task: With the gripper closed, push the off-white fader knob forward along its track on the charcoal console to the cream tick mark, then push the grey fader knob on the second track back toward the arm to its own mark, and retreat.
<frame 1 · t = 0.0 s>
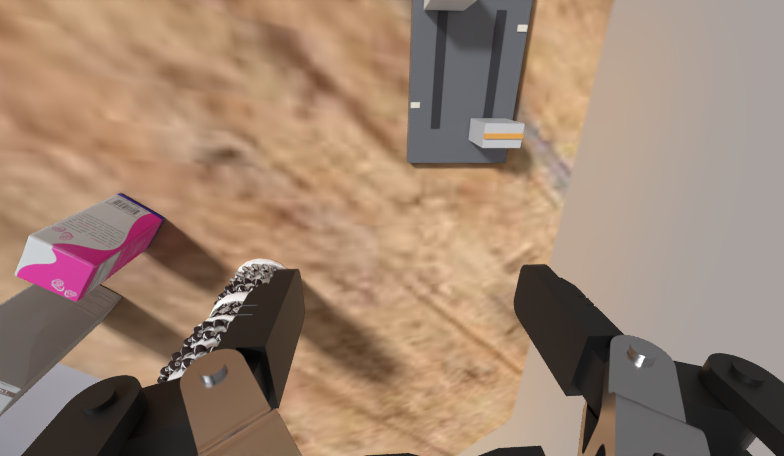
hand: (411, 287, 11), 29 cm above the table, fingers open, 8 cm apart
grey fader: (494, 132, 34), point 4 cm above the table, slide at 0.0 cm
decorative candle: (266, 282, 45), on the table
skincare box: (88, 292, 44), on the table
console: (464, 50, 34), on the table
supplement box: (136, 221, 40), on the table
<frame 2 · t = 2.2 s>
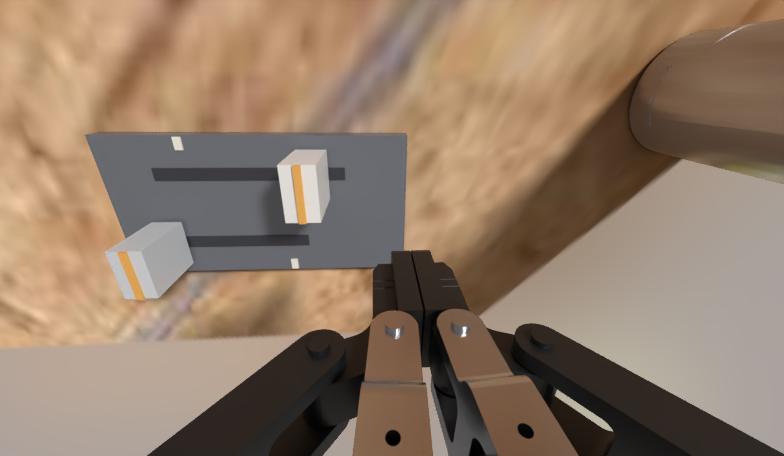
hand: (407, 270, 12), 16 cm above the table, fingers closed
grey fader: (154, 258, 24), point 4 cm above the table, slide at 0.0 cm
white fader: (307, 184, 23), point 4 cm above the table, slide at 0.0 cm
console: (268, 202, 28), on the table
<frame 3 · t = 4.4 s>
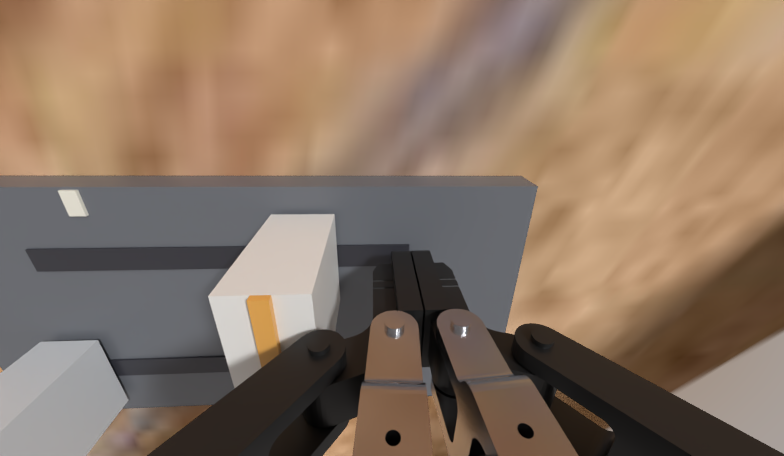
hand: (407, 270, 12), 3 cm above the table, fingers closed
grey fader: (32, 428, 12), point 4 cm above the table, slide at 0.0 cm
white fader: (293, 299, 10), point 4 cm above the table, slide at 1.7 cm, touching gripper
console: (263, 293, 15), on the table
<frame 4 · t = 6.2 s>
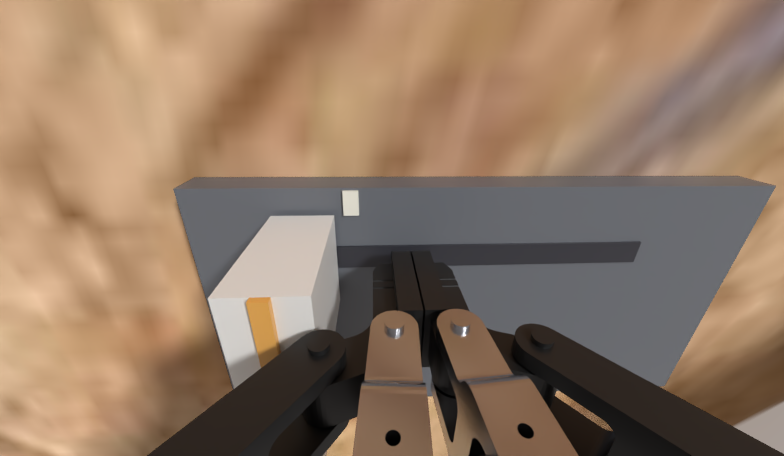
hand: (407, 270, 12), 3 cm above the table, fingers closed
grey fader: (294, 417, 13), point 4 cm above the table, slide at 0.0 cm
white fader: (293, 300, 10), point 4 cm above the table, slide at 11.8 cm, touching gripper
console: (464, 289, 16), on the table
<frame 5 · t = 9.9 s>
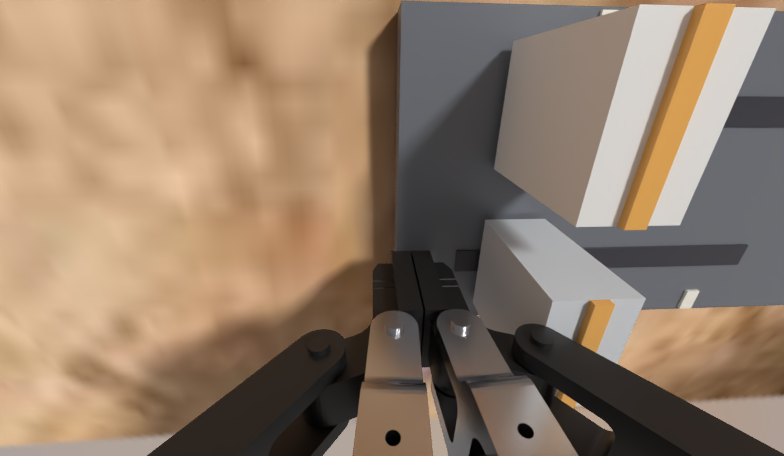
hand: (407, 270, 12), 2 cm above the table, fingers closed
grey fader: (536, 302, 11), point 4 cm above the table, slide at 0.6 cm, touching gripper
white fader: (585, 118, 8), point 4 cm above the table, slide at 11.8 cm
console: (664, 180, 14), on the table
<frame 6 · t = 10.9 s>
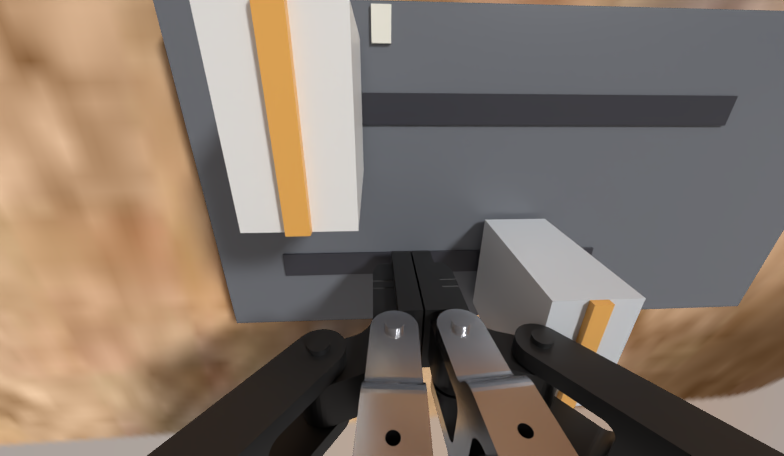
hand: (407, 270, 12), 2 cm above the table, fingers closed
grey fader: (536, 302, 11), point 4 cm above the table, slide at 7.7 cm, touching gripper
white fader: (310, 117, 8), point 4 cm above the table, slide at 11.8 cm
console: (508, 181, 13), on the table
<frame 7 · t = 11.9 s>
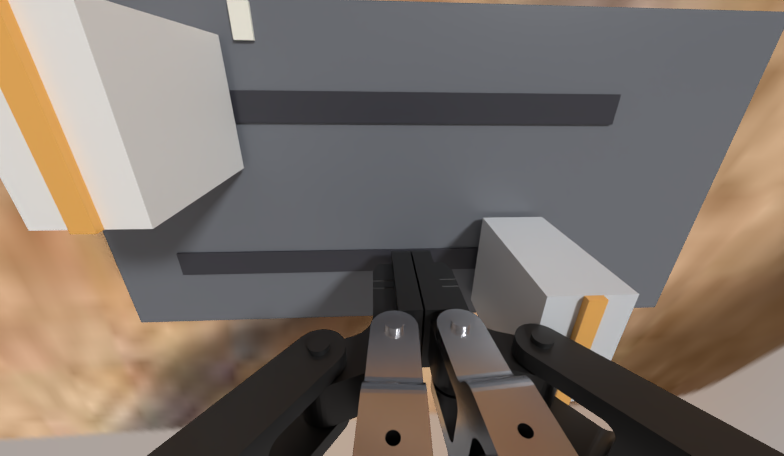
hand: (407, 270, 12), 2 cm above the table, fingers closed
grey fader: (532, 299, 11), point 4 cm above the table, slide at 11.9 cm, touching gripper
white fader: (138, 114, 8), point 4 cm above the table, slide at 11.8 cm
console: (411, 180, 13), on the table
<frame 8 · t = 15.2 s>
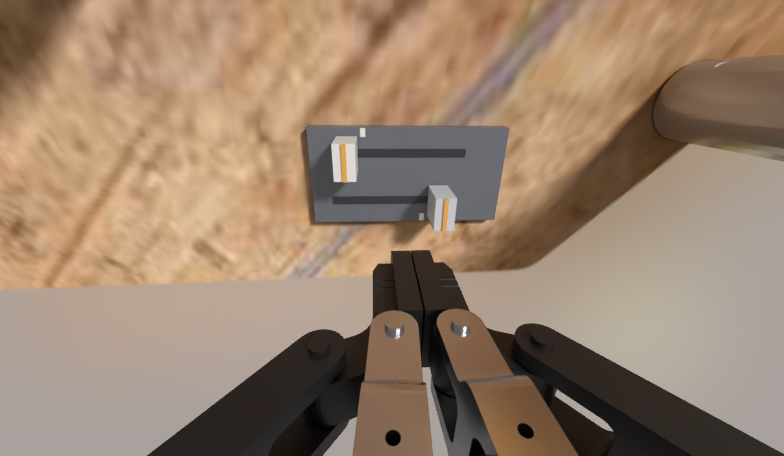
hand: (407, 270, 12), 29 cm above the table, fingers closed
grey fader: (440, 207, 38), point 4 cm above the table, slide at 11.9 cm
white fader: (345, 158, 35), point 4 cm above the table, slide at 11.8 cm
console: (406, 173, 40), on the table
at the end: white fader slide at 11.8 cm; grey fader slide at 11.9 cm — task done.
